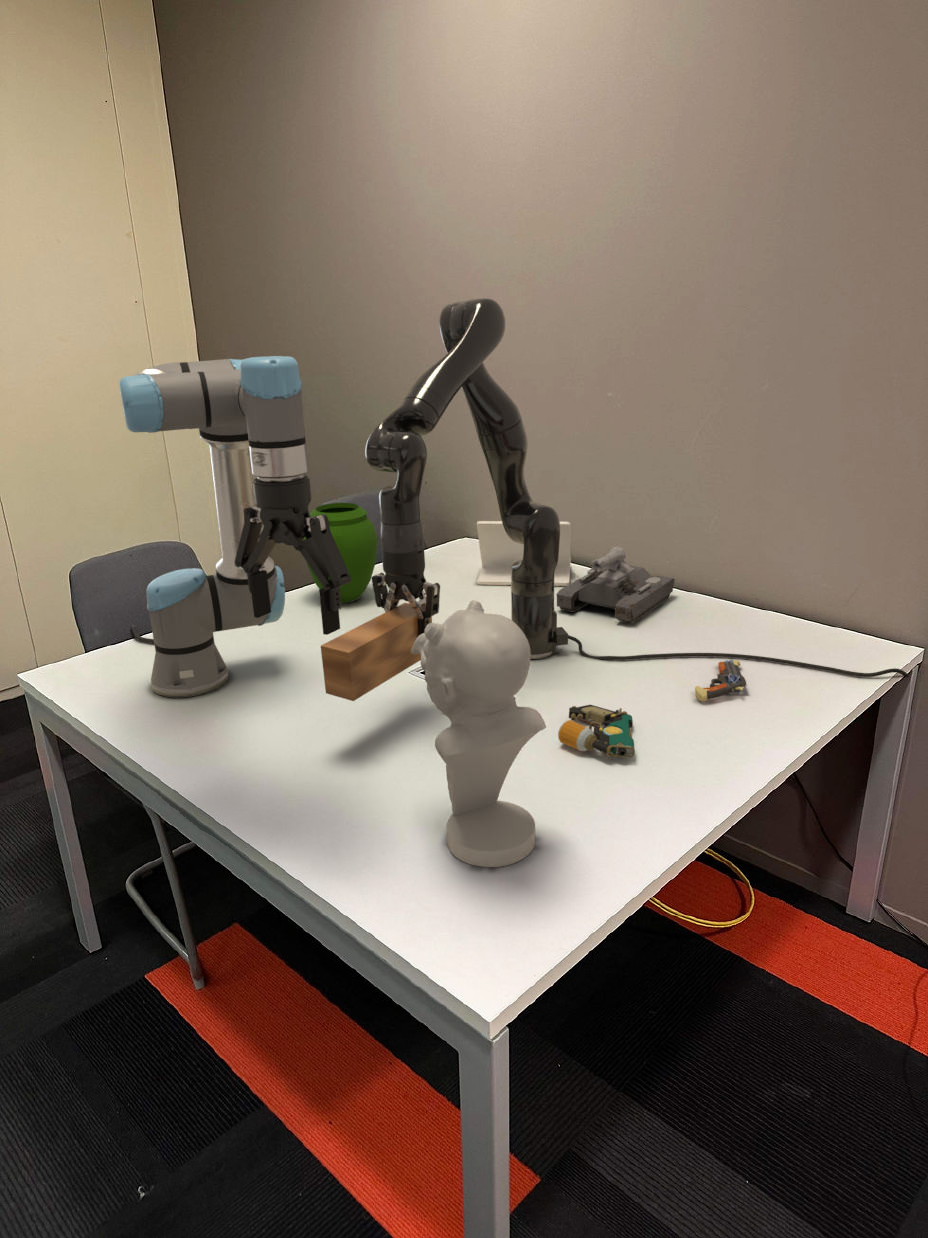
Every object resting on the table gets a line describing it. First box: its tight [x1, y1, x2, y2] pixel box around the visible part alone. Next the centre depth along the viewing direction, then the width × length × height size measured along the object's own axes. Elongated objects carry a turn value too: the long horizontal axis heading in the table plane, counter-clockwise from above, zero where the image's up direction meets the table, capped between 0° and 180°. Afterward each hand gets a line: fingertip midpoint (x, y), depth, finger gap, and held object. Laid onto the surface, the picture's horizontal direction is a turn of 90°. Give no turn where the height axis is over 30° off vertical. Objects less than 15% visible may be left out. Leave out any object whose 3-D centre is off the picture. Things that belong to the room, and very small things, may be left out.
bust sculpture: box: [411, 599, 547, 868], centre depth 121 cm, size 16×24×35 cm
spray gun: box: [557, 704, 636, 759], centre depth 150 cm, size 4×17×15 cm
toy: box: [556, 546, 676, 624], centre depth 212 cm, size 25×20×15 cm
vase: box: [303, 502, 379, 604], centre depth 220 cm, size 20×20×24 cm
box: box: [320, 602, 433, 702], centre depth 150 cm, size 23×6×9 cm, turn 146°
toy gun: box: [694, 659, 749, 702], centre depth 169 cm, size 3×19×10 cm
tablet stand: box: [476, 520, 572, 587], centre depth 236 cm, size 18×25×17 cm
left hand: (296, 623), depth 123 cm, fingers open, 13 cm apart
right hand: (408, 632), depth 156 cm, fingers closed on box, 6 cm apart
